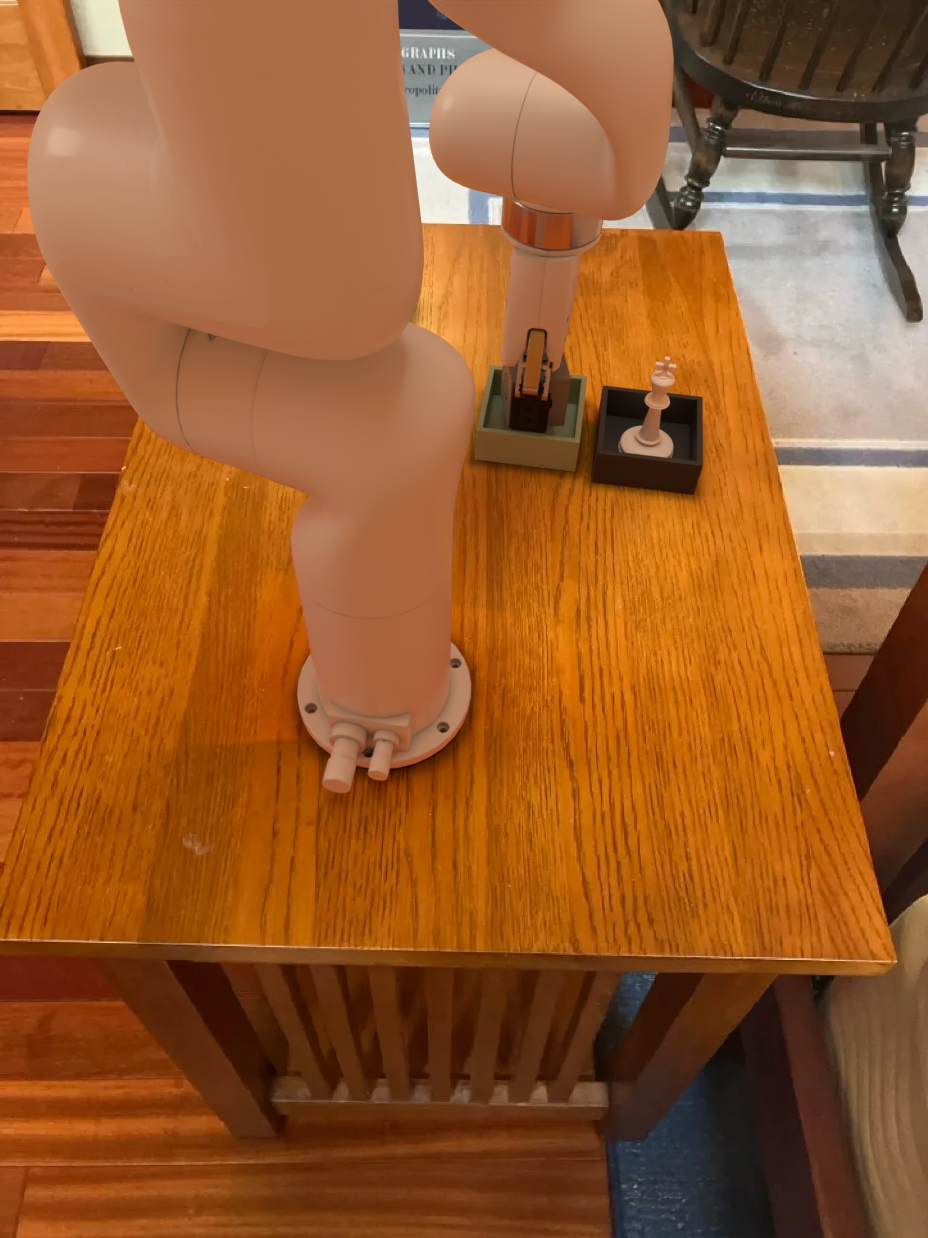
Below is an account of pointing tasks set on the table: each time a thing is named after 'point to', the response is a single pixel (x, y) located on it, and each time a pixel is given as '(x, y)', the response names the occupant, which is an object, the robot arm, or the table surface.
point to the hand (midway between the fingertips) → (532, 403)
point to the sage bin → (529, 447)
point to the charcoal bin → (648, 471)
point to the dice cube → (557, 388)
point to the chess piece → (652, 418)
